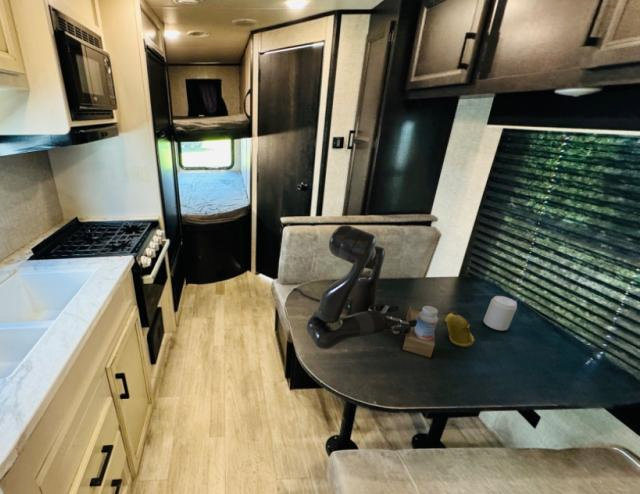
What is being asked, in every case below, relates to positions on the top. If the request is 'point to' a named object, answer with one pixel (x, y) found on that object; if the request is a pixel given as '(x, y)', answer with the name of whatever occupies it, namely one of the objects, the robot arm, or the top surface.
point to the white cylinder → (500, 313)
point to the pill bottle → (426, 323)
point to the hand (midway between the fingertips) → (406, 314)
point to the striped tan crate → (417, 338)
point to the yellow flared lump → (459, 330)
